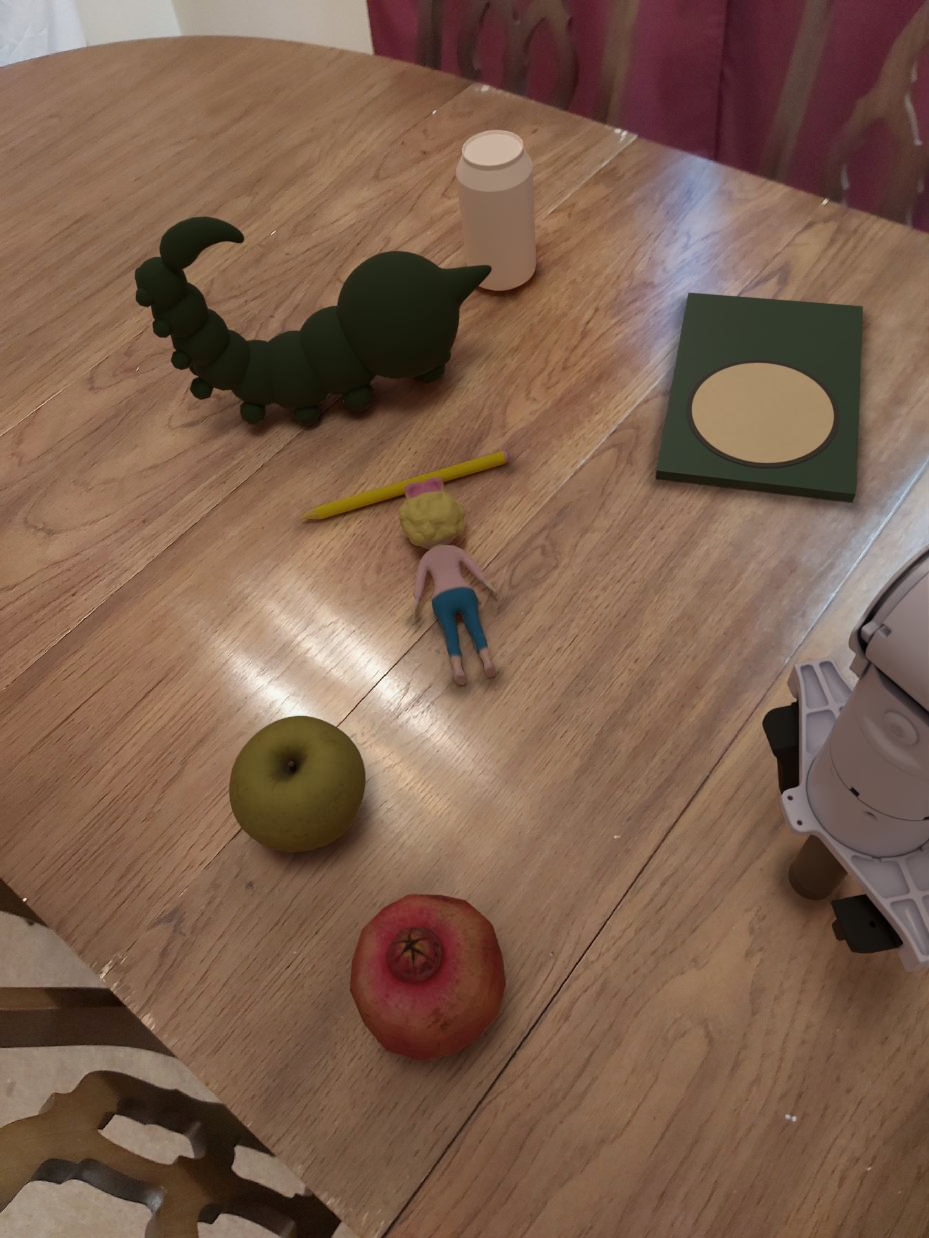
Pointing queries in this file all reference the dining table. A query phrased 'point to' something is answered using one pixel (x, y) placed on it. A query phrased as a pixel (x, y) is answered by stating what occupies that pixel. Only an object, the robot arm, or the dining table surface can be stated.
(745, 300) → the kitchen scale
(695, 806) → the dining table surface
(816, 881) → the pill bottle
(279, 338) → the toy caterpillar
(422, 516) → the figurine
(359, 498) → the pencil
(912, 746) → the robot arm
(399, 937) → the fruit
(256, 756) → the apple
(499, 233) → the beverage can
